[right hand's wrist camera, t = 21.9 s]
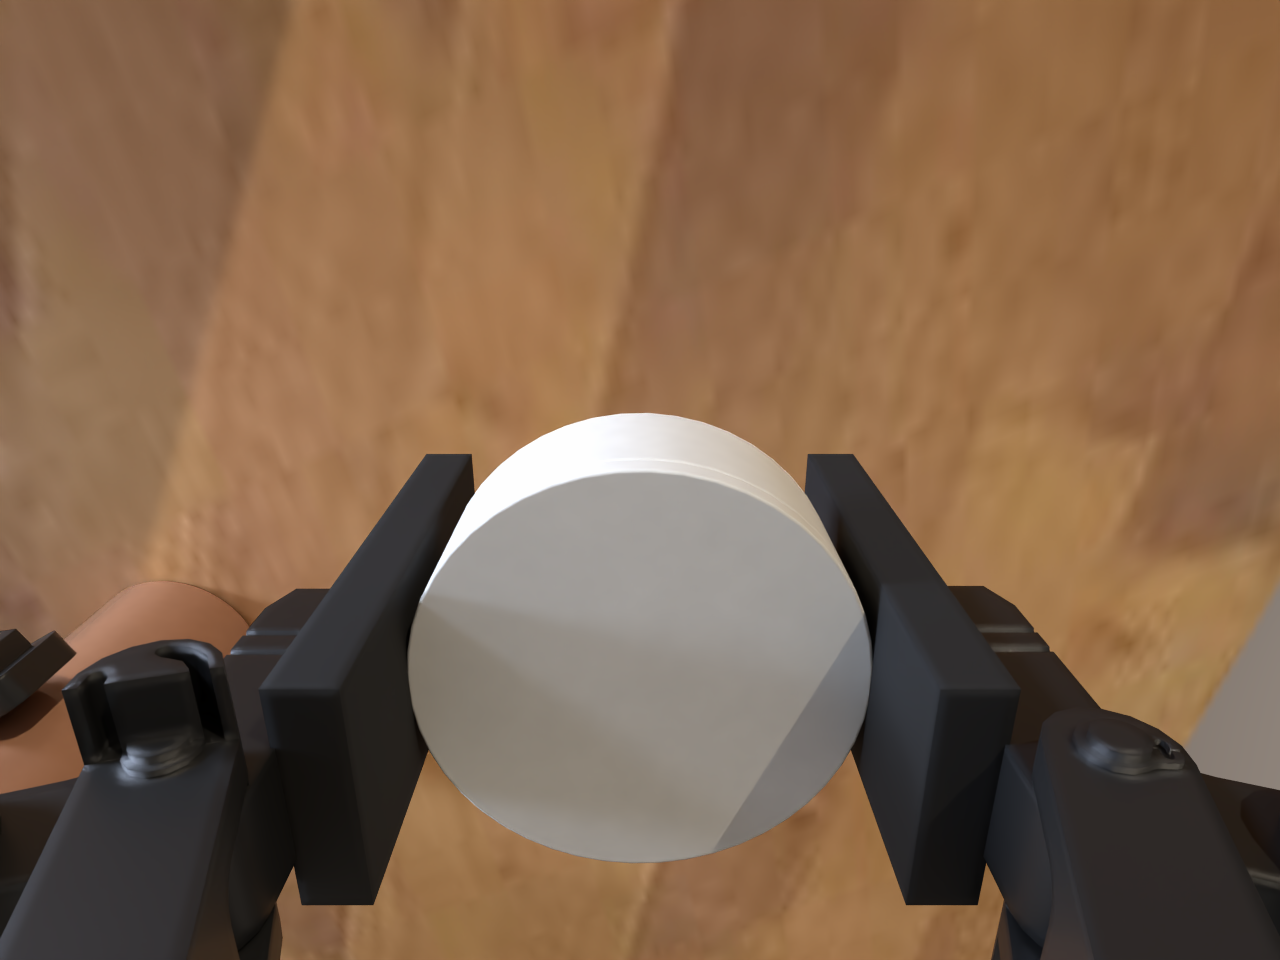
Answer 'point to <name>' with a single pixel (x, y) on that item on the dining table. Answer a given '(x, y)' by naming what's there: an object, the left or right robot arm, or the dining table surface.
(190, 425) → the dining table surface
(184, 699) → the right robot arm
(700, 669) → the lid
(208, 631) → the jar
